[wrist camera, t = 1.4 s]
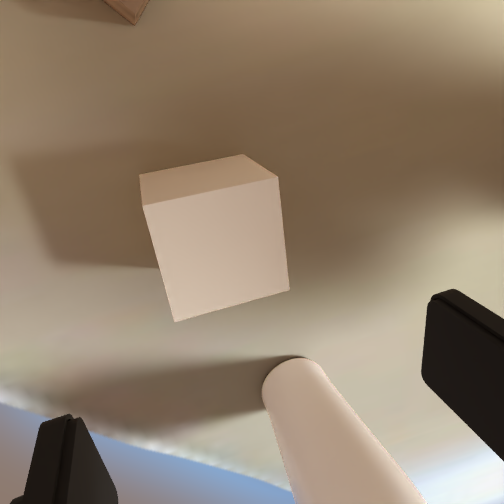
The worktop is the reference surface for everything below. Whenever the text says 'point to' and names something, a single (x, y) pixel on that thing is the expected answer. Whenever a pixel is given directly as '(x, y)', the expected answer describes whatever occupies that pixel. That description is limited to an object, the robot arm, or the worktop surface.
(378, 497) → the drinking glass
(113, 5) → the tan wooden square tray
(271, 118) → the worktop surface
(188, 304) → the cream cube
